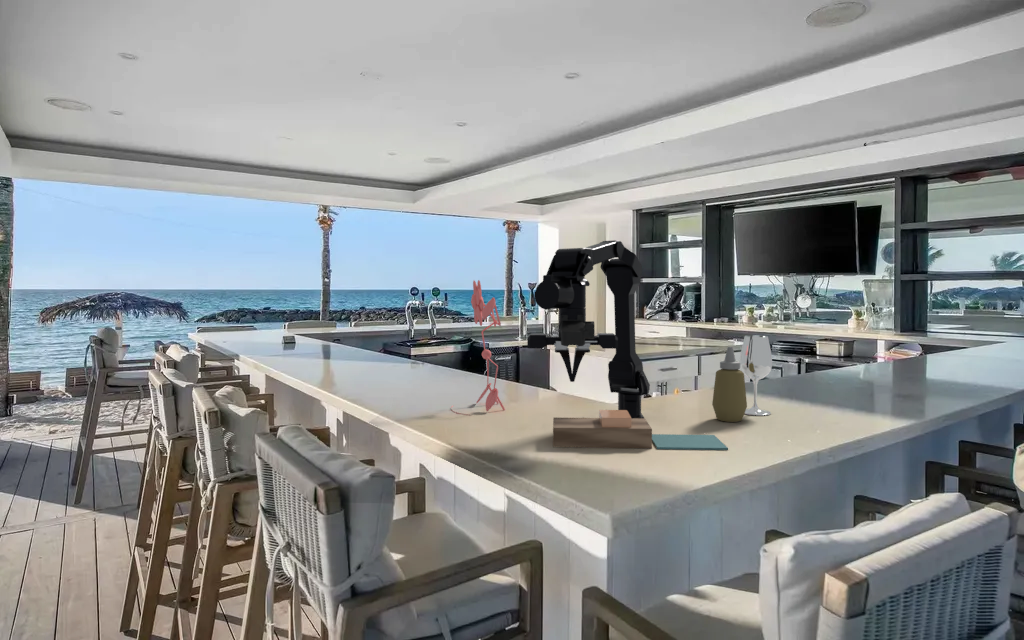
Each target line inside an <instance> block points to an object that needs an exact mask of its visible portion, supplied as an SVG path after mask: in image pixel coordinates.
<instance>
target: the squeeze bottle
mask: <svg viewBox="0 0 1024 640" xmlns="http://www.w3.org/2000/svg"><path fill="white" fill-rule="evenodd" d="M719 368H720V369H718V370H716V372H715V379H714V386H713V394H712V395H713V396H712V401H711V402H712V407H713V411H714V414H715V417H716V419H717V420H718V421H722V422H727V423H738V422H741V421H743V418H744V417H745V414H744V413H745V411H746V409H748V408H747V407H748V402H747V401H748V400H747V393H746V392H747V391H746V381H745V380H746V378H745V374H744V373H743V372H742V370H741V368H740V361H736V357H735V351H734V347H733V346H727V348H726V352H725V357H724V360H720V361H719Z"/></svg>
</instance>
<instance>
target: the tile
mask: <svg viewBox="0 0 1024 640" xmlns="http://www.w3.org/2000/svg"><path fill="white" fill-rule="evenodd" d="M598 413H599V414H598V416H599V417H598V418H599V420H600V423H601V426H602V427H627V428H631V416H630V414H629V413H628V411H627V410H618V409H599V411H598Z"/></svg>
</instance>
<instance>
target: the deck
mask: <svg viewBox="0 0 1024 640" xmlns="http://www.w3.org/2000/svg"><path fill="white" fill-rule="evenodd" d="M552 422H553V423H552V425H553V426H552V447H553V448H590V449H591V448H594V449H595V448H596V449H597V448H598V449H599V448H601V449H602V448H603V449H606V448H607V449H652V448H653V441H652V434H653V428H652V427H651V425H650V424H649V422H648V421H647V419H646V418H645V417H644V418H631V428H627V427H602V426H601V423H600V420H599V417H553V421H552Z"/></svg>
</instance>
